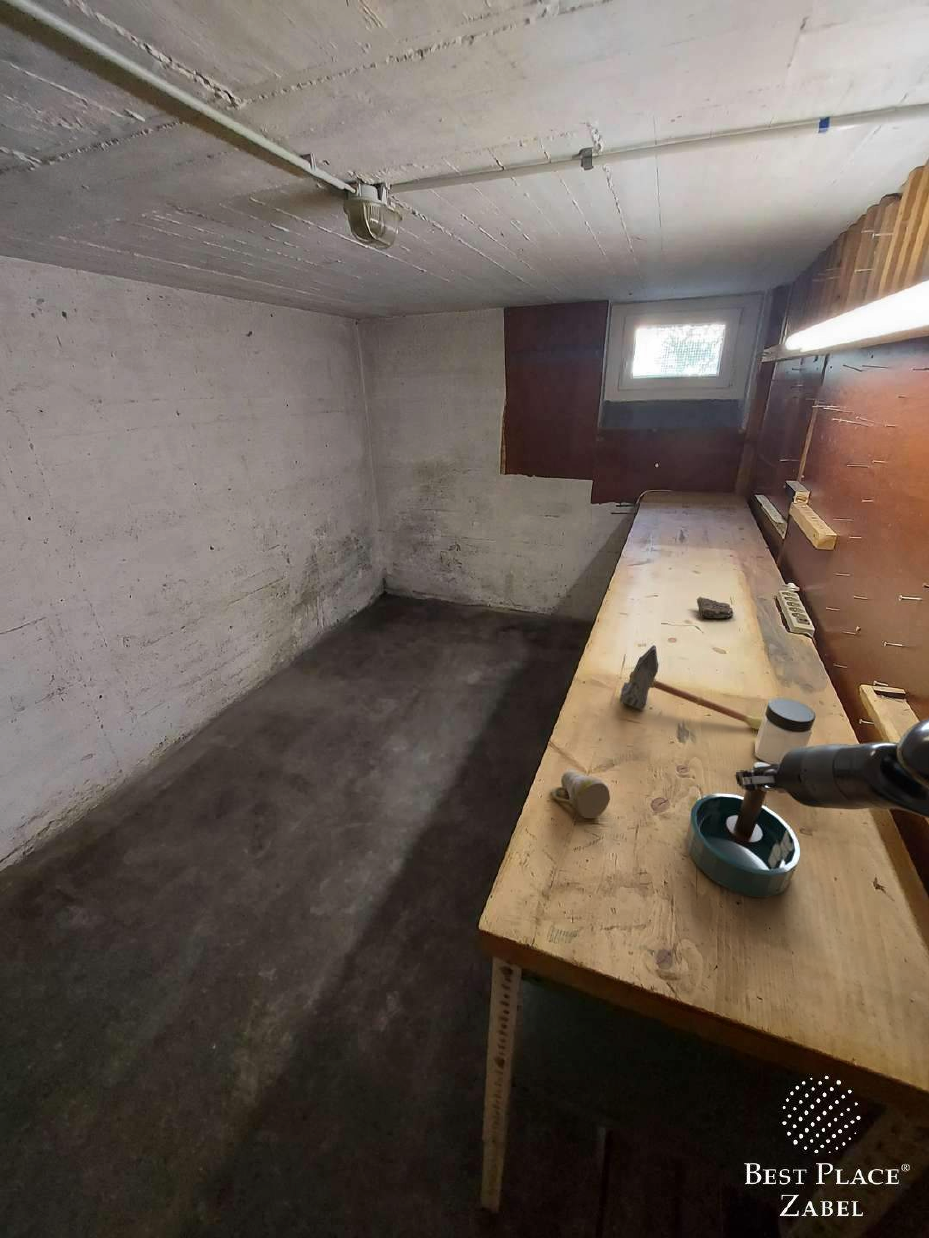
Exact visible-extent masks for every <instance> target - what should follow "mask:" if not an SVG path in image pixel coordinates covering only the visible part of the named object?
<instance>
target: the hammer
mask: <svg viewBox="0 0 929 1238" xmlns="http://www.w3.org/2000/svg"><path fill="white" fill-rule="evenodd" d="M658 670H659V662H658V653H657V646H656V645H654V644H653V645H652V646H651V647H650V648H649V649H648V650H647V651H646V652H644V654H643V655H642V656H639V658H638V660H637V662H636V665H635V667H634V669H633V671H630V673H629V676H628V677H629V679H628V682H624V683H623V686H622V688H621V692H620V696H619V702H621V703H622V704H626V705H628V706H631V707H632V708H635V709H637V710H641V711H642V710H644V709H645V707H646V705H647V700H648V695H649V690H650V688H651V689H657V690H659V691H661V692H665V693H667V694H670V695H672V696H675V697H677V698H681V699H683V700H686V701H688V702H691V703H694V704H696V705H697V706H702V707H704V708H705V709H706V708H707V709H709V710H711V711H714V712H717V713H720V714H722V715H724V716H727V717H730V718H733V719H735V720H737V721H741V722H743V723H744V724H747V725H748V726H749V727H750V728H753V729H756V730H758V731H759V728H760V725H761V722H762V719H763V718H761V717H758V716H756V715H748V714H744V713H743V712H742V713H741V712H739V711H738V710H737V711H736V710H734V709H731V708H729V707H726V706H723V705H721V704H718V703H716V702H714V701H710V700H708V699H707V698H706V699H705V698H703V697H702V696H698V695H695V694H693V693H690V692H687V691H685V690H682V689H679V688H677V687H674V686H672V685H669V684H666V683H664V682H661V681H659V680H657V679H656V676H657V674H658Z"/></svg>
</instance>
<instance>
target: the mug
mask: <svg viewBox="0 0 929 1238" xmlns="http://www.w3.org/2000/svg"><path fill="white" fill-rule="evenodd" d="M560 782H561V786H558V787H556V788H554V790H553V791H552V797H553V800H555V801H557V802H559V803H562V804H566V805H567V806H570V807H571V808H573V809H574V810H575V811H576V812H577V813H578V814H579V815H581V816H582V817H583V818H588V819H594V818H598V817H599V816H601V815H602V814H603V813H604V812H605V810H606V809H607V808H608V805H609V804H610V801H611V793H610V790H609V787H608V786H607V785H606V784H605V782H604V781H602V780H601V779H599V778H597V777H595V776H592V775H583V774H580V773H579V772H578V771H577V770H575V769H569V770H566V771H565V772H564V773H563V774H562V776H561V778H560ZM561 791H563V792H567V794H568V797H569V799H566V798H561V797H558V796H557V794H558V793H560V792H561Z"/></svg>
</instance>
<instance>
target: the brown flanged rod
mask: <svg viewBox="0 0 929 1238" xmlns="http://www.w3.org/2000/svg"><path fill="white" fill-rule="evenodd" d="M759 766H770V764H768V763H766V762H764V761H757V762H755V763H754V764H753V767H752V769H753V770H756V767H759ZM772 770H774V769H772ZM757 776H758V775H757ZM767 794H768V791H762V790H761V788H758V789H755V790H753V791H749V790H745V792H744V796H743V797H744V799H743V802H742V805H741V808H740V811H739V814H738V816H737V815H736V816H731V817H729V818H728V819H727V821H726V824H725V831H726V833H727V835H728V836H729V837H730V838H731V839H732V840H733V841H734V842H736V843H738V844H740V845H742V846H745V847H755V846H757V845H759V844H760V842H761V839H762V836H763V834H762V830H761V829H760V827H759V826H758V825H757V824H756V823H757V820H758V817H759V814H760V811H761V808H762V805H764V802H765V799H766V797H767Z"/></svg>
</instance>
